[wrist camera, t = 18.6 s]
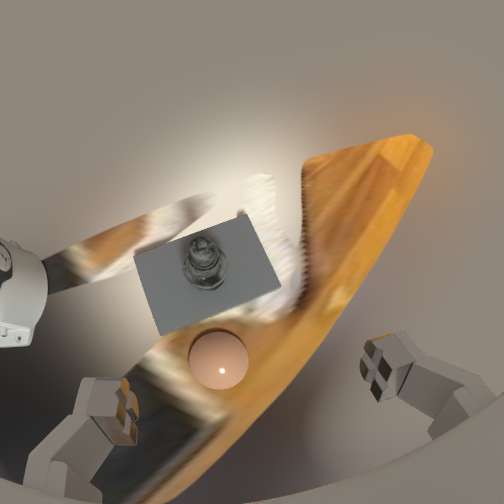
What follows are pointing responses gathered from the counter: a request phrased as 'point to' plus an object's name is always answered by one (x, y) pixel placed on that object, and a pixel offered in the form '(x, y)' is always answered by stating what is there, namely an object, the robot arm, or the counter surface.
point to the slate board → (192, 300)
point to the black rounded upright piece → (205, 264)
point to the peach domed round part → (218, 360)
